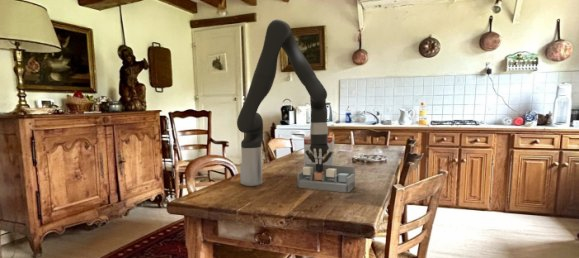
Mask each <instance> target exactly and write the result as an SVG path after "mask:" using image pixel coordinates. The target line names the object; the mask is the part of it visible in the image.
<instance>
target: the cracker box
mask: <svg viewBox="0 0 579 258" xmlns="http://www.w3.org/2000/svg"><path fill="white" fill-rule="evenodd" d="M310 145H311V141H310V135H305V136H303V165H304V167H305V163H311V164H316V163H314V162H312V161H311V160H310V158H309V157H308V156H307V154H306V153H305V151H307V150H308V149H310ZM328 147H329V150H331V151H333V152H334V153H333V155H332V156H331V157H330V158H329V160H328V161H327V162H325V163H323V164H326V165H335V136H333V135H328ZM312 154H313V153H312ZM313 156H314V154H313ZM326 156H327V152H326V154H325V155H324V159H325V157H326ZM304 167H303V168H304Z"/></svg>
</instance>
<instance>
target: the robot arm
mask: <svg viewBox="0 0 579 258" xmlns="http://www.w3.org/2000/svg"><path fill="white" fill-rule="evenodd" d="M281 49H282V50H283V51H284V53H285V55H286V56H287V58H288V60H289V63H290V65H291V66H292V69H293V71H294V74H295V75H296V77H297V78H298V80H299V81H300V83H301V84H302V85H303V87H305V90H306V92H307V93H308V95H309V99H310V100H309V101H310V128H309V130H310V131H309V132H310V135H309V136H310V141H311V145H310V149H308V150H307V151H305V153H306V154H307V156H308V157H309V158H310V160H311V161H312V162H314V163H316V171H317V172H320V173H321V172H322V171H323V163H325V162H327V161H328V160H329V158H330V157H331V156H332V155H333V153H334V154H335V151H334V152H333V151H331V150H329V147H328V136H329V135H328V134H329V129H328V128H329V127H328V112H327V108H326V107H327V106H326V105H327V104H326V103H327V98H328V93H327V90H326V88H325V87H324V85H323V83H322V82H321V81H320V80H319V78H318V77H317V75H316V73H315V71H314V69H313V68H312V66H311V65H310V63H309V61H308V59H307V58H306V56H305V55H304V53H302V51H301V48H300V47H299V44H298V43H297V41H296V39H295V37H294V34H293V31H292V29H291V26H290V24H288V22H286V21H284V20H283V19H278V18H277V19H274V20H272V21H270V22H269V24H268V26H267V28H266V31H265V36H264V41H263V46H262V50H261V52H260V55H259V58H258V60H257V64H256V67H255V70H254V72H253V75H252V78H251V82H250V86H249V89H248V91H247V95H246V97H245V99H244V103H243V105H242V107H241V109H240V111H239V113H238V117H237V119H236V126H237V129H238V131H239V132H241V133H242V134H245V136H244V138H243V139H242V140H241V142H240V147H241V150H240V151H241V162H240V164H239V168H240V169H239V170H240V171H239V175H240V185H243V186H248V187H249V186H250V187H252V186H253V187H254V186H260V185H262V184H263V163H262V162H263V161H262V160H263V159H262V157H263V156H262V154H263V153H262V142H263V140H264V121H263V118H262V116H261V114H260V113H258V110H259V107H260V105H261V103H262V102H263V101H264V99H265V98H266V97H267V96H268V94H269V93H270V92H271V89H272V87H273V86H274V85H273V84H274V81H275V78H276V74H277V69H278V59H279V54H280V51H281ZM326 152H327V156H326V157H325V159H324V155H325V154H326ZM312 153H313V154H314V156H313V154H312Z"/></svg>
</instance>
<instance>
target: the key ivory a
mask: <svg viewBox="0 0 579 258" xmlns="http://www.w3.org/2000/svg"><path fill="white" fill-rule="evenodd" d="M302 171H303V175H310V174H312V173H313V167H302Z"/></svg>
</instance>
